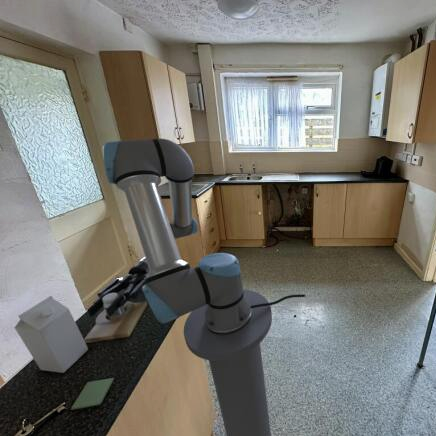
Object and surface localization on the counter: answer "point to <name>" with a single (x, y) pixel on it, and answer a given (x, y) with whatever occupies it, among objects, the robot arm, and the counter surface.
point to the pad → (93, 393)
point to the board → (116, 323)
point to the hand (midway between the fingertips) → (99, 312)
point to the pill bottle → (109, 300)
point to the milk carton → (51, 335)
